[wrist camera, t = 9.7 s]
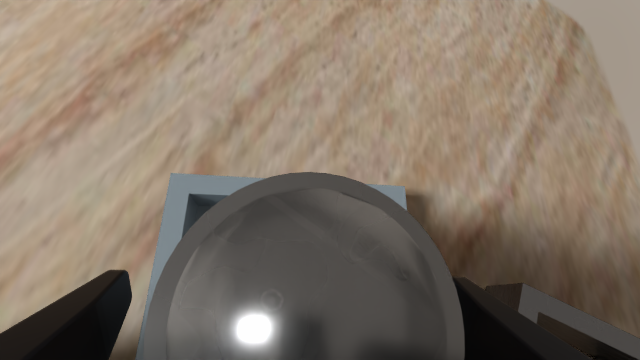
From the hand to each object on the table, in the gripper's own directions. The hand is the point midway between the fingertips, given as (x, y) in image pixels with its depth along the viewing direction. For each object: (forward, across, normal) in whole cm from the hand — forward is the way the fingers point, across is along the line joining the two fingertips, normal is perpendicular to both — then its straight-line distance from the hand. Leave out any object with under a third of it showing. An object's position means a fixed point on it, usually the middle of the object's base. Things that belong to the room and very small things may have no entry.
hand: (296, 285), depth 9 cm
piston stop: (+5, 0, +6) cm, 8 cm away
